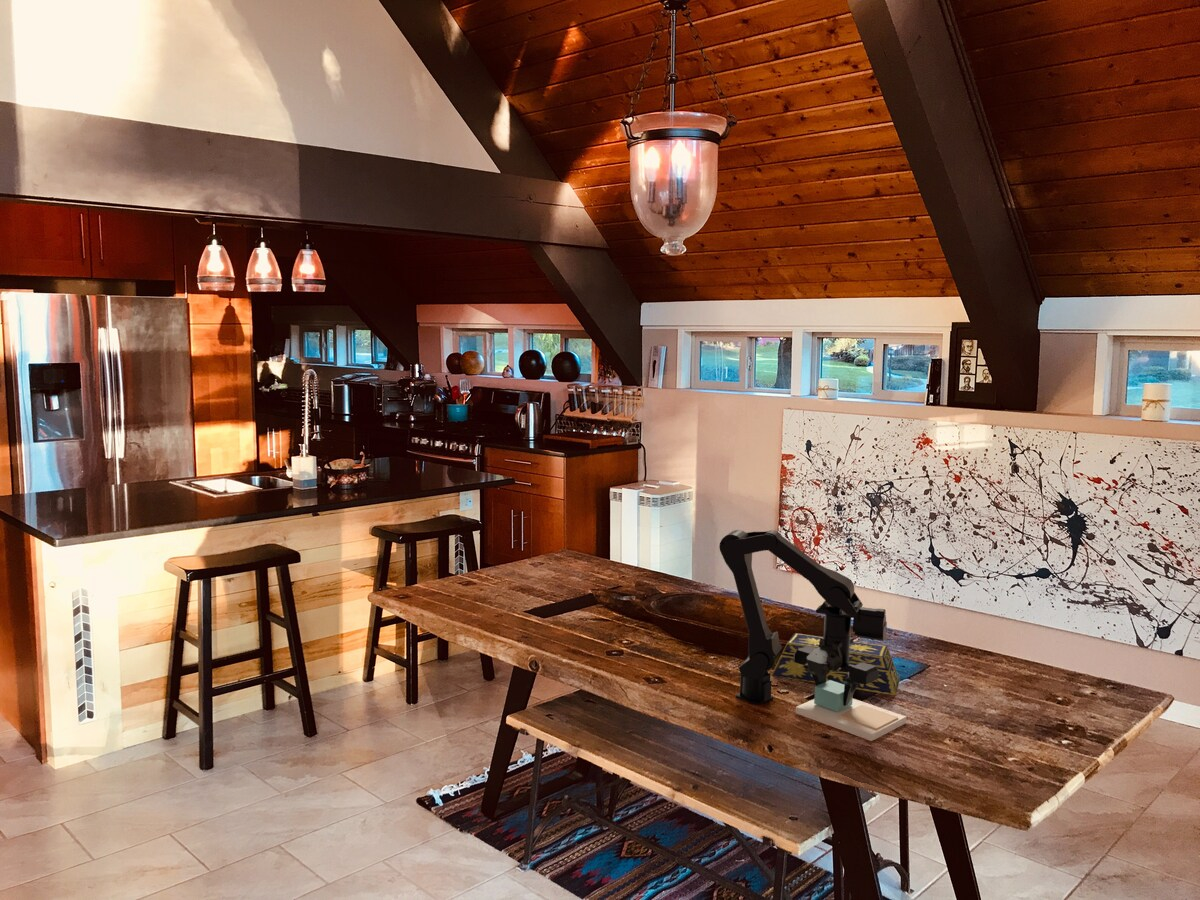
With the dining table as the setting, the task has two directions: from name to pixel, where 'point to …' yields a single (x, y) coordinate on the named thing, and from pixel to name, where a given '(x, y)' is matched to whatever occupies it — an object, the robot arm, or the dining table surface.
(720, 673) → the dining table surface
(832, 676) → the decorative box
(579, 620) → the dining table surface
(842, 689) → the mint green cube
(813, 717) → the board
